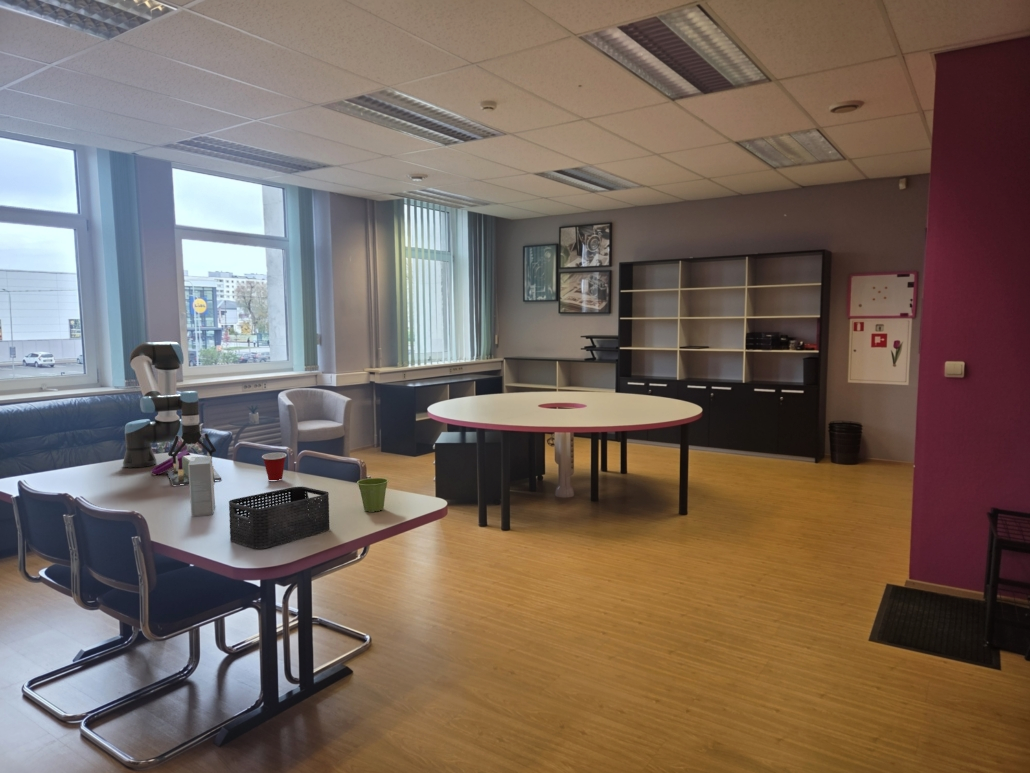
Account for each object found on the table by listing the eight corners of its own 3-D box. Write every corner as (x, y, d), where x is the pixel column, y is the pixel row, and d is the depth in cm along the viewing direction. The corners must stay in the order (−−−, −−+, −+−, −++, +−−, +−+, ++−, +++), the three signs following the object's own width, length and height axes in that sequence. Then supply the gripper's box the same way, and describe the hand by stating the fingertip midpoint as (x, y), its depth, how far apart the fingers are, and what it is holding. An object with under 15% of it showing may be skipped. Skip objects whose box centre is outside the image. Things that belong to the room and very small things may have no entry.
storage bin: (300, 520, 242) (299, 484, 241) (334, 529, 230) (333, 491, 229) (225, 541, 219) (223, 501, 218) (258, 552, 207) (257, 510, 206)
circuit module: (182, 472, 320) (181, 456, 319) (196, 470, 324) (195, 454, 323) (190, 478, 307) (189, 460, 307) (204, 476, 311) (203, 459, 310)
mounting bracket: (162, 487, 322) (197, 466, 331) (153, 473, 319) (189, 452, 329) (158, 483, 330) (193, 463, 339) (149, 469, 327) (184, 450, 336)
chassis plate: (167, 474, 323) (166, 461, 322) (212, 469, 333) (211, 456, 333) (173, 486, 298) (172, 472, 297) (221, 480, 308) (220, 466, 308)
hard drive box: (193, 507, 262) (191, 457, 260) (215, 505, 264) (212, 455, 263) (190, 517, 247) (187, 464, 246) (213, 515, 250) (210, 462, 248)
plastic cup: (261, 483, 301) (260, 457, 300) (264, 478, 311) (263, 453, 310) (286, 482, 303) (285, 456, 302) (288, 477, 314) (287, 452, 313)
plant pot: (389, 505, 261) (388, 476, 260) (389, 513, 250) (389, 483, 249) (358, 507, 259) (357, 478, 258) (357, 515, 247) (356, 485, 246)
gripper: (161, 427, 304) (164, 473, 305) (220, 422, 317) (222, 466, 319) (160, 425, 310) (162, 470, 312) (218, 421, 323) (220, 464, 325)
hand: (193, 468), depth 315 cm, fingers open, 13 cm apart
